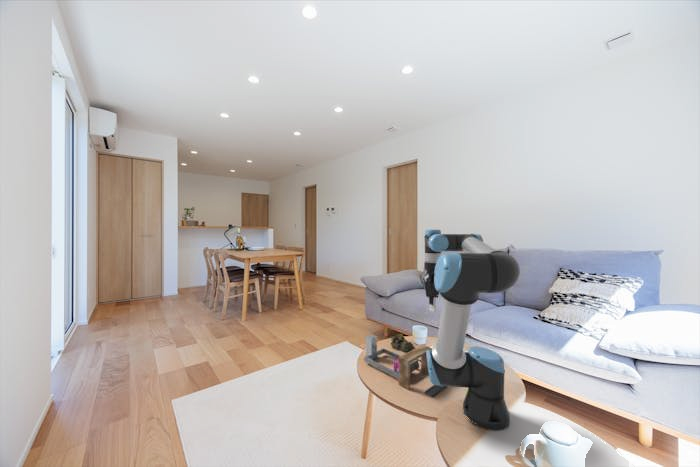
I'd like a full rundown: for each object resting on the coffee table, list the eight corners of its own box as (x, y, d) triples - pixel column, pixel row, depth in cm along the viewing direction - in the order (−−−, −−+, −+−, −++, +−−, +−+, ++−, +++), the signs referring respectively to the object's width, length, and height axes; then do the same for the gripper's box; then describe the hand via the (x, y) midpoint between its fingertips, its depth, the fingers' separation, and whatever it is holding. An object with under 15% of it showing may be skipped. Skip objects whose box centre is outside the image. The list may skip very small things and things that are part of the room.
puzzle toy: (403, 378, 122) (403, 366, 122) (393, 373, 126) (393, 361, 126) (411, 374, 125) (411, 362, 125) (401, 369, 130) (401, 357, 130)
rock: (392, 341, 162) (384, 339, 155) (403, 330, 161) (397, 327, 154) (406, 360, 153) (398, 358, 146) (418, 348, 152) (412, 345, 145)
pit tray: (447, 385, 116) (447, 383, 116) (432, 397, 108) (432, 395, 108) (440, 382, 119) (440, 380, 119) (424, 393, 111) (424, 391, 111)
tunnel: (431, 374, 125) (431, 348, 125) (408, 389, 113) (408, 361, 113) (422, 369, 129) (422, 344, 129) (398, 384, 117) (398, 357, 117)
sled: (419, 370, 128) (419, 347, 128) (399, 381, 119) (399, 357, 118) (378, 351, 148) (378, 331, 148) (358, 360, 138) (358, 339, 138)
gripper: (433, 260, 136) (432, 306, 136) (418, 262, 127) (418, 311, 127) (446, 261, 130) (446, 309, 131) (432, 263, 121) (432, 315, 122)
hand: (432, 310), depth 129 cm, fingers closed
